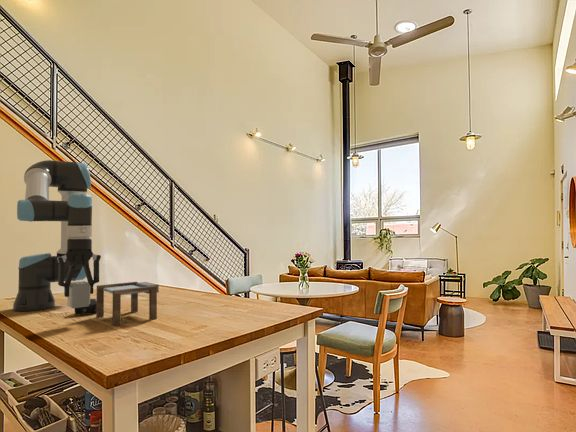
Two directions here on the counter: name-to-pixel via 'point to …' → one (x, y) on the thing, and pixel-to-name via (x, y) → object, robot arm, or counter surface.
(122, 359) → the counter surface
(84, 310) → the rock
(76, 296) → the grey rectangular block
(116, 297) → the trapdoor frame
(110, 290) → the trapdoor
